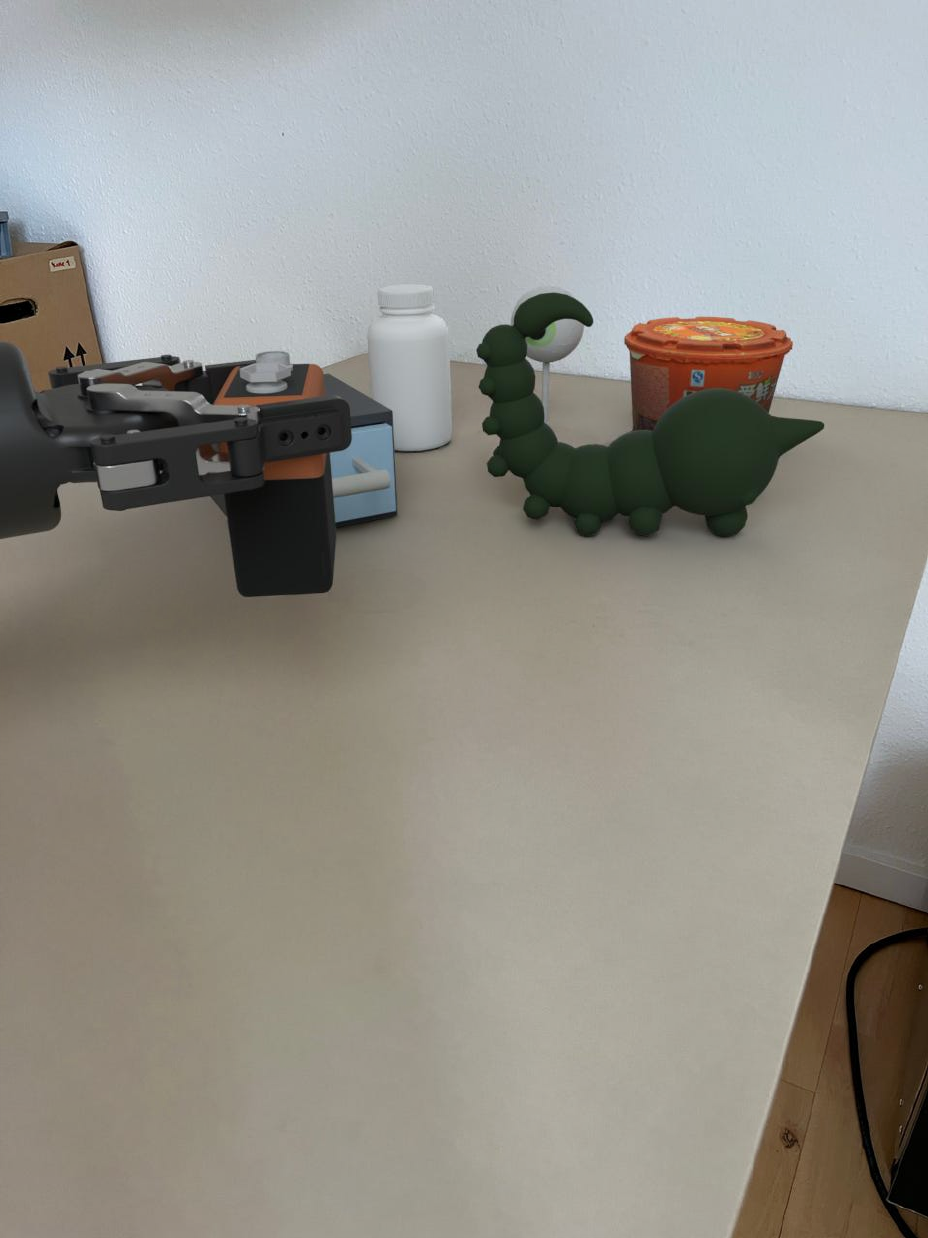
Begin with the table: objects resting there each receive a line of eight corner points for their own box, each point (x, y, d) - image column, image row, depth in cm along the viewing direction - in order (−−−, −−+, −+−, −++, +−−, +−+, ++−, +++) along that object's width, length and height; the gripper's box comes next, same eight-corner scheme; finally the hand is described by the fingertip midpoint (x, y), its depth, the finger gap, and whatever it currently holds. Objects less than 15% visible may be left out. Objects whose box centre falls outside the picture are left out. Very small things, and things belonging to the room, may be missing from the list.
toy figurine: (486, 559, 74) (824, 555, 68) (461, 309, 65) (845, 280, 59) (506, 516, 82) (809, 509, 76) (486, 288, 73) (826, 261, 68)
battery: (236, 601, 42) (205, 379, 38) (252, 543, 48) (227, 345, 44) (333, 597, 43) (315, 376, 38) (337, 539, 49) (322, 342, 44)
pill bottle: (363, 436, 98) (353, 285, 91) (435, 426, 101) (430, 279, 94) (388, 457, 91) (380, 296, 84) (464, 446, 94) (462, 290, 87)
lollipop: (499, 445, 94) (500, 289, 87) (521, 426, 100) (524, 278, 93) (568, 452, 92) (575, 292, 85) (586, 433, 98) (594, 281, 91)
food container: (811, 441, 94) (829, 331, 89) (700, 472, 86) (713, 353, 81) (693, 408, 106) (703, 309, 101) (585, 432, 98) (591, 326, 93)
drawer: (426, 534, 72) (423, 445, 68) (282, 564, 67) (271, 470, 64) (338, 465, 87) (332, 389, 84) (215, 485, 82) (204, 406, 79)
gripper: (-67, 491, 43) (275, 439, 50) (-59, 616, 32) (381, 528, 39) (-115, 323, 40) (259, 292, 47) (-125, 397, 29) (370, 342, 35)
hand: (314, 399), depth 43 cm, fingers closed on battery, 8 cm apart
